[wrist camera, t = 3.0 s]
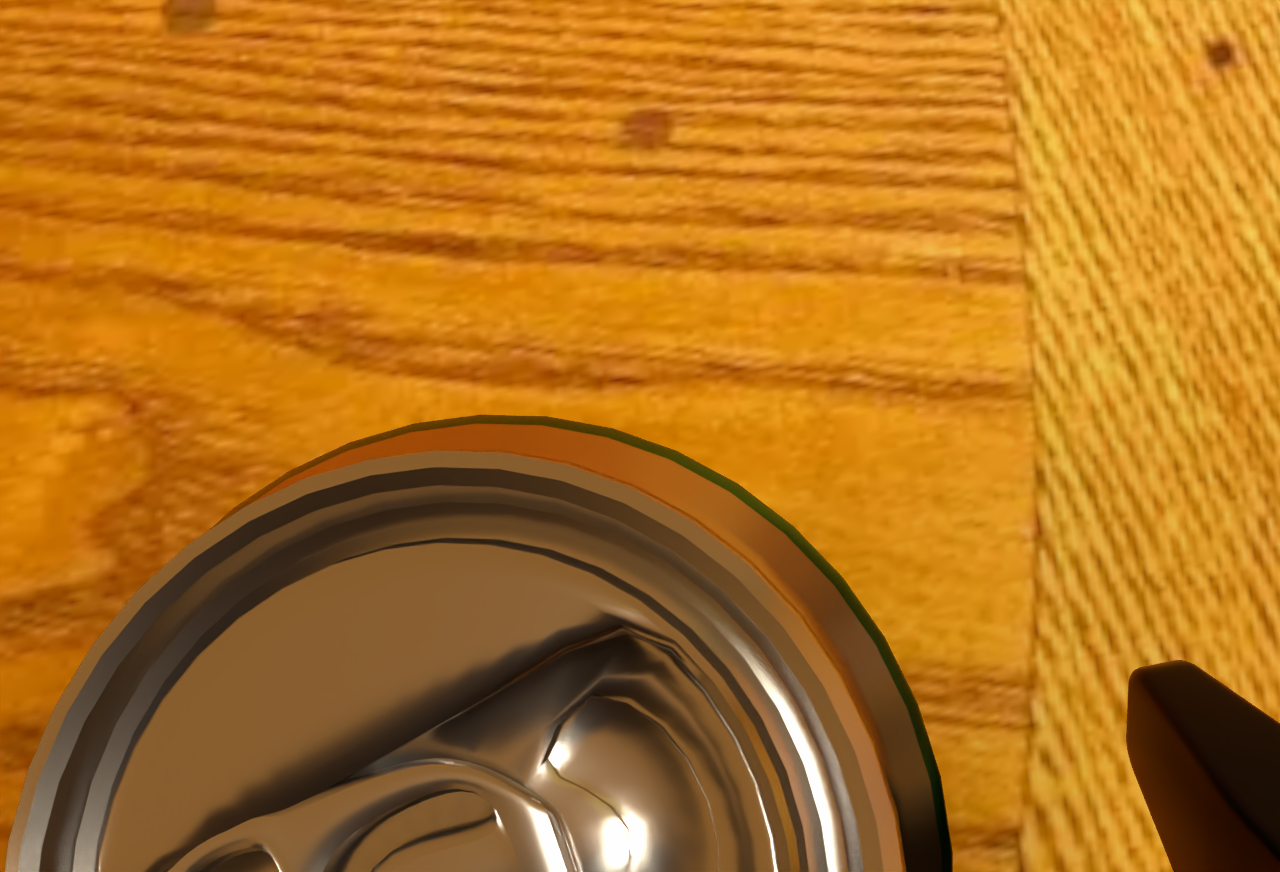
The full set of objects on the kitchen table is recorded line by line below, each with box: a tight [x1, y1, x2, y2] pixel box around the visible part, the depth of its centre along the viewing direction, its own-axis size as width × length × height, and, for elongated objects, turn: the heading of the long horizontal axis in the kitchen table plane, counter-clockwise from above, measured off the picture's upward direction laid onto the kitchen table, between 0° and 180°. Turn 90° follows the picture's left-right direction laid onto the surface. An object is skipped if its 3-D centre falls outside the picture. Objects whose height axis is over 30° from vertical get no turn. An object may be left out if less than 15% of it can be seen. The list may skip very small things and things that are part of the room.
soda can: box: [5, 415, 953, 872], centre depth 11 cm, size 5×5×12 cm
